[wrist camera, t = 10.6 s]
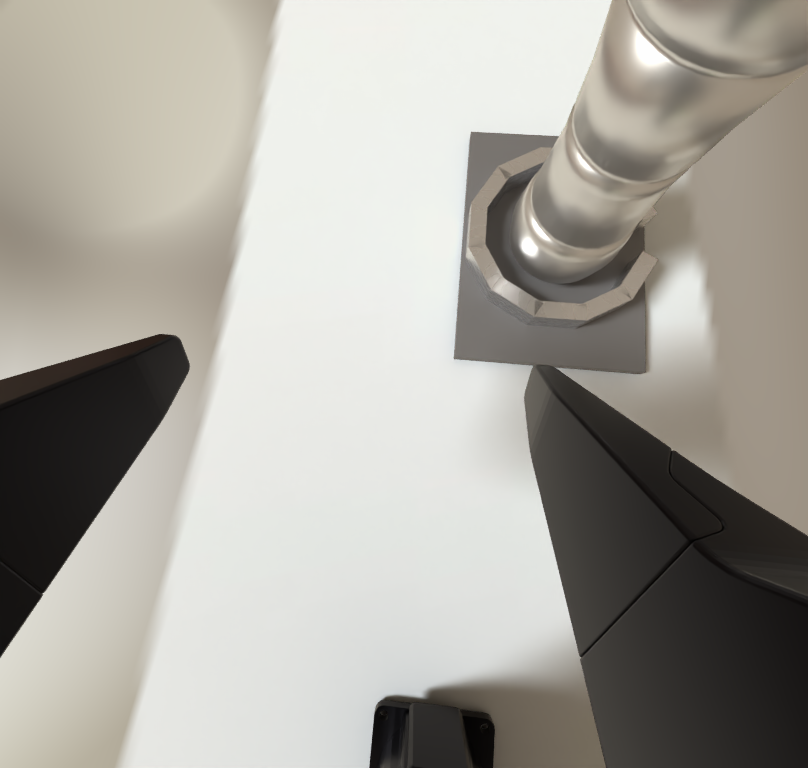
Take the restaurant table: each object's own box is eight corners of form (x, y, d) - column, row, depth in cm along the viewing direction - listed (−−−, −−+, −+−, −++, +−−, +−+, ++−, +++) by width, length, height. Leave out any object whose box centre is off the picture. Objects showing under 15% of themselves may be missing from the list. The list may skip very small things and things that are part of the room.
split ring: (641, 334, 22) (659, 325, 20) (460, 320, 23) (464, 311, 21) (640, 172, 24) (656, 153, 22) (471, 162, 24) (475, 143, 23)
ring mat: (639, 374, 22) (645, 372, 22) (453, 358, 23) (454, 356, 22) (637, 147, 25) (643, 140, 24) (469, 139, 25) (471, 131, 25)
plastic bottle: (622, 236, 23) (1861, -984, 3) (564, 316, 22) (1691, -624, 3) (539, 183, 24) (1133, -1054, 4) (480, 259, 23) (855, -795, 3)
